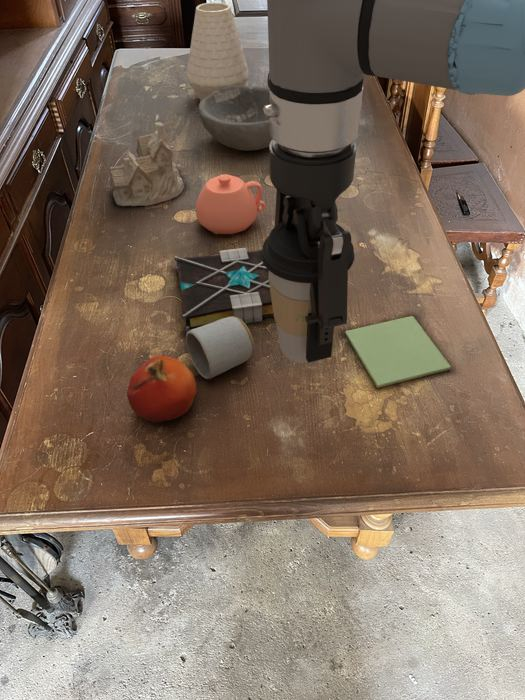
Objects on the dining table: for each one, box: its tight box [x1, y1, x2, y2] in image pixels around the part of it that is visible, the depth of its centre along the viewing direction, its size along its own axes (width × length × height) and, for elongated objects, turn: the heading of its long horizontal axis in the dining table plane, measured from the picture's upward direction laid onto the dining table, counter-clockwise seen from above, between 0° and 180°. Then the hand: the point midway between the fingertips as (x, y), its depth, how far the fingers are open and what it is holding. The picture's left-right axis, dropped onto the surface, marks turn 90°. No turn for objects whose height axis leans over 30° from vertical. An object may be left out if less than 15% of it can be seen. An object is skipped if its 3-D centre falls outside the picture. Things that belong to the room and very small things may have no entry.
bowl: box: [197, 85, 272, 151], centre depth 132 cm, size 23×22×10 cm
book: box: [174, 247, 274, 333], centre depth 93 cm, size 22×17×5 cm
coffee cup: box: [261, 222, 355, 364], centre depth 59 cm, size 9×9×15 cm
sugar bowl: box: [195, 173, 266, 235], centre depth 106 cm, size 12×14×10 cm
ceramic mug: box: [185, 316, 255, 380], centre depth 81 cm, size 11×8×8 cm
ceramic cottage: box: [109, 121, 185, 207], centre depth 115 cm, size 16×16×15 cm
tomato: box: [126, 355, 198, 423], centre depth 74 cm, size 9×9×8 cm
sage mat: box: [344, 315, 452, 389], centre depth 84 cm, size 12×12×1 cm
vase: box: [185, 2, 250, 102], centre depth 146 cm, size 17×17×23 cm
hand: (304, 331), depth 62 cm, fingers closed on coffee cup, 8 cm apart
